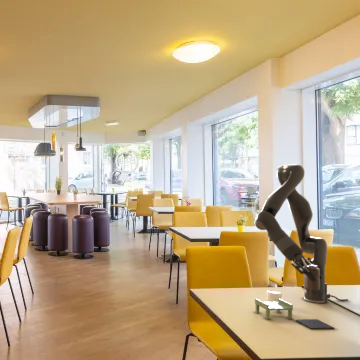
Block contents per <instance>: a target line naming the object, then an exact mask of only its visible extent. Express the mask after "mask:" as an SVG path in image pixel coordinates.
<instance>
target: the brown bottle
mask: <svg viewBox="0 0 360 360" xmlns="http://www.w3.org/2000/svg"><path fill="white" fill-rule="evenodd" d="M308 269H309V271H310V272H311V273H312V274H313V275H314V276H315V277H316V278H317V280H316V281H314V282H312V281H311V280H310V279H309V278H308V277H307V276H306V288H308V289H313V290H319V285H320V268H317V266H316V265H309V267H308Z"/></svg>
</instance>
